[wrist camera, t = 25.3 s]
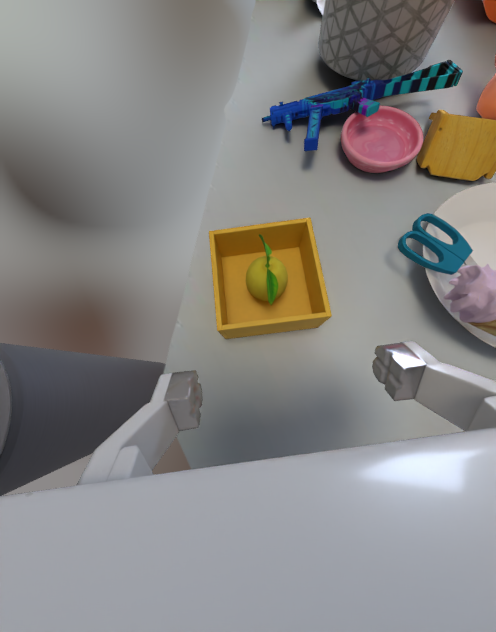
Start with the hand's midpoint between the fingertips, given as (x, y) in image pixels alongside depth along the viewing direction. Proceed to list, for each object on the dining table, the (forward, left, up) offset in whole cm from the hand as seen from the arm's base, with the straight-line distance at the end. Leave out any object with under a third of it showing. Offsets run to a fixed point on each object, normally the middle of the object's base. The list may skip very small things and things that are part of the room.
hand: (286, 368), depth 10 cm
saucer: (+23, +34, -22) cm, 46 cm away
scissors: (+21, +17, -17) cm, 32 cm away
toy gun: (+18, +31, -16) cm, 40 cm away
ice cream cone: (+33, -3, -16) cm, 37 cm away
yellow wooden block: (+34, +29, -17) cm, 48 cm away
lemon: (+1, +12, -21) cm, 24 cm away
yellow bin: (+1, +12, -22) cm, 25 cm away
